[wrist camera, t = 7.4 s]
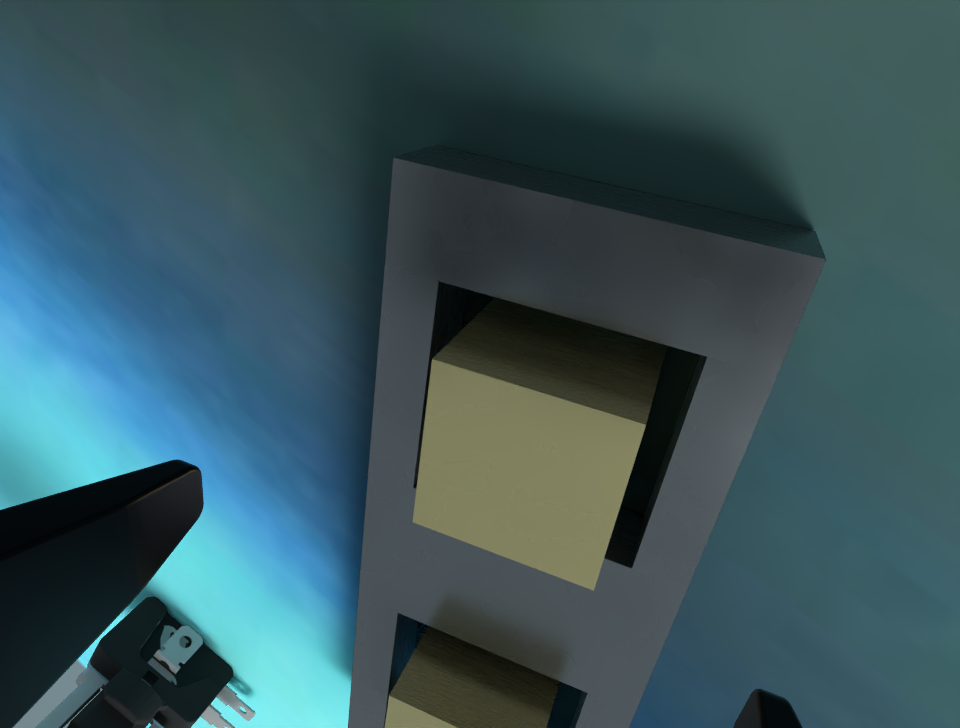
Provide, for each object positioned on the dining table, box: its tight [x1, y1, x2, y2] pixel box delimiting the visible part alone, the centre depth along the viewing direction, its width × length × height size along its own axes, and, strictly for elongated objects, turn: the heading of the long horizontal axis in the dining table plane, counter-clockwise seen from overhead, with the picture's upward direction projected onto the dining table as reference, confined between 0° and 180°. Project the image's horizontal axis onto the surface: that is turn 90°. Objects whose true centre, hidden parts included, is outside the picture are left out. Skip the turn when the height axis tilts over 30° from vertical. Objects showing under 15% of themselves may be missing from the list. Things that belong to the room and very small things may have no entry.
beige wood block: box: [413, 297, 667, 591], centre depth 14 cm, size 4×4×4 cm
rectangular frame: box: [348, 145, 826, 728], centre depth 17 cm, size 20×8×2 cm, turn 171°
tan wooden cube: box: [385, 626, 560, 728], centre depth 19 cm, size 4×4×4 cm
